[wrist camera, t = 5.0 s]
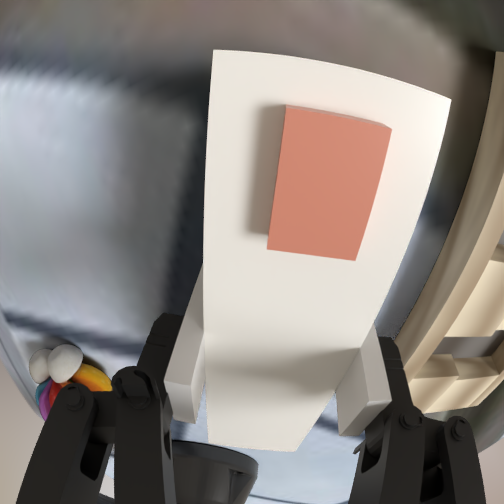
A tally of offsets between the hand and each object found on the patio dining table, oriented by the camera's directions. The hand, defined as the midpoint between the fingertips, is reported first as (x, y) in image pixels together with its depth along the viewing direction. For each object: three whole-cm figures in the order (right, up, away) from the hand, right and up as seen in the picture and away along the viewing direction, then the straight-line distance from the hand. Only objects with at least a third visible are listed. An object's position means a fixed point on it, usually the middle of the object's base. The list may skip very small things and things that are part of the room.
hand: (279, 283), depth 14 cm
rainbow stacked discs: (-18, -10, +12) cm, 24 cm away
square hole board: (+16, -1, +2) cm, 16 cm away
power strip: (0, +1, +2) cm, 3 cm away
